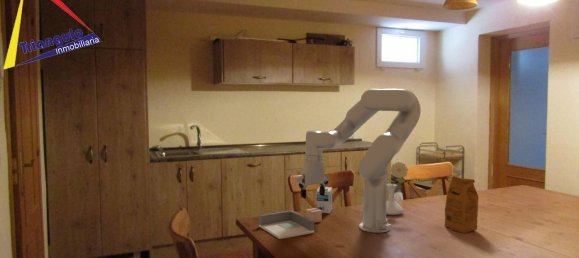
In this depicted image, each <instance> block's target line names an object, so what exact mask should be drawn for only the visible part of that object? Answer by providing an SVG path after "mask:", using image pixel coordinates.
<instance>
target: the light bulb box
mask: <svg viewBox="0 0 579 258" xmlns="http://www.w3.org/2000/svg"><path fill="white" fill-rule="evenodd" d="M319 190H320V186H319V187H318V188H317V190H316V208H317V209H319V210H322V214H331V211H332V209H333V187H329V186H326V187H325V196H321V195H319Z"/></svg>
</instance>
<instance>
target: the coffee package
mask: <svg viewBox="0 0 579 258" xmlns="http://www.w3.org/2000/svg"><path fill="white" fill-rule="evenodd" d="M475 182H476V181H475V179H473V178H462V177H459V176H457V175H455V174H454V175H452V178H451V180H450V183H449V187H448V190H447V192H446V200H445V207H444V227H445V226H446V227H445V228H448V227H449V229H451V230H452V231H453V230H455V231H454V232H457V231H459V232H458V233H461V232H462V234H466V233H469V232H473V231H474V232H475V231H477V230H478V215H479V213H478V210H479V194H478V191H477V189H476V187H475Z"/></svg>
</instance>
